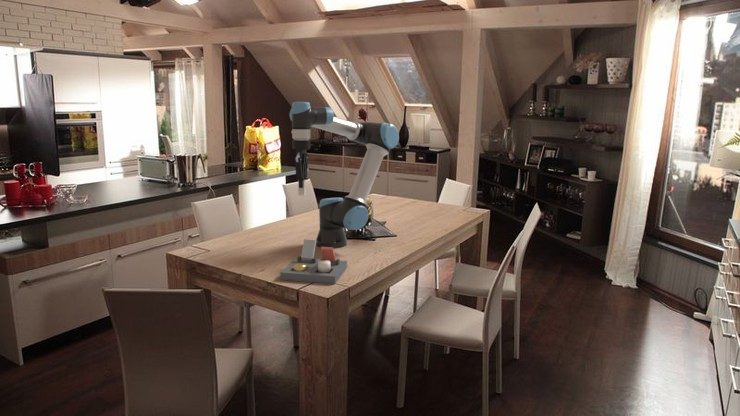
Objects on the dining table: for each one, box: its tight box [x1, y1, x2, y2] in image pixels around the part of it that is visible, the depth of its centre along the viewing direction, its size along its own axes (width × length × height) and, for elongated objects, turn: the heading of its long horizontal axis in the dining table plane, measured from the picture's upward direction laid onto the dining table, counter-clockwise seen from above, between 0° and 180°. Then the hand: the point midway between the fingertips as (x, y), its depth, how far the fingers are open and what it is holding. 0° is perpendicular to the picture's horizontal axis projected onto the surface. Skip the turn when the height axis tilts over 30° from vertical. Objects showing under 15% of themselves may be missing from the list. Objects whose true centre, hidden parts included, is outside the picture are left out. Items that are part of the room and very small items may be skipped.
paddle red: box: [320, 247, 337, 264], centre depth 204 cm, size 2×5×9 cm
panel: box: [280, 255, 348, 285], centre depth 203 cm, size 20×22×5 cm
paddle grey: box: [300, 239, 317, 262], centre depth 210 cm, size 2×5×9 cm
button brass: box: [294, 263, 306, 272], centre depth 200 cm, size 5×5×4 cm
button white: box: [318, 260, 331, 273], centre depth 198 cm, size 5×5×4 cm
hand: (302, 195), depth 214 cm, fingers closed
